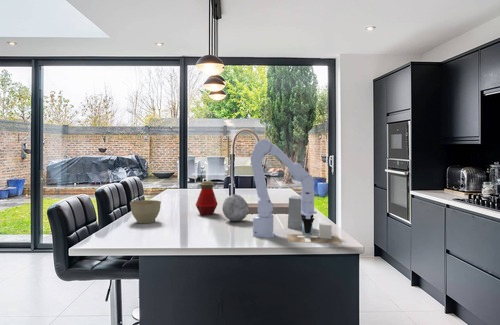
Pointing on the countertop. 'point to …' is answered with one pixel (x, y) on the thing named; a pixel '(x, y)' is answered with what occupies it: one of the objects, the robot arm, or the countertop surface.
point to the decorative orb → (235, 208)
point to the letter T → (308, 238)
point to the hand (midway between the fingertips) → (307, 231)
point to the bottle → (206, 199)
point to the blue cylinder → (304, 231)
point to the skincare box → (294, 212)
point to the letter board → (312, 239)
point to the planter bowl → (145, 210)
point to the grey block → (325, 230)
